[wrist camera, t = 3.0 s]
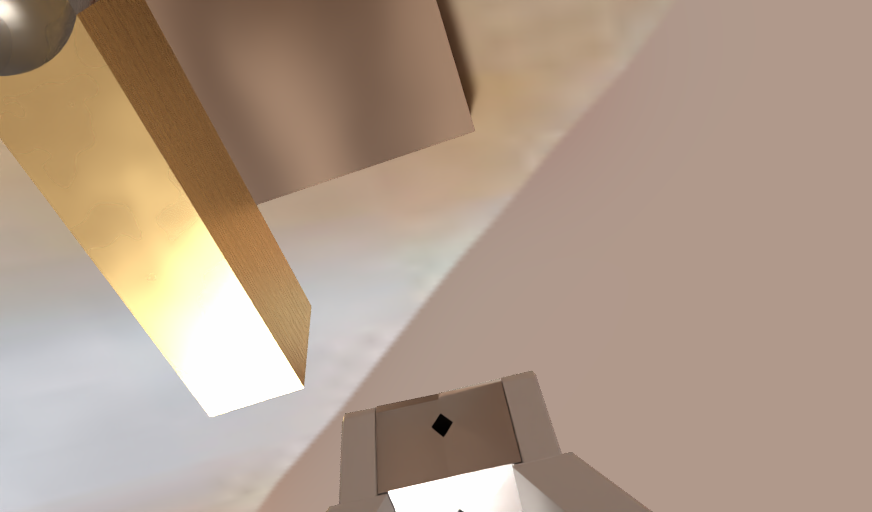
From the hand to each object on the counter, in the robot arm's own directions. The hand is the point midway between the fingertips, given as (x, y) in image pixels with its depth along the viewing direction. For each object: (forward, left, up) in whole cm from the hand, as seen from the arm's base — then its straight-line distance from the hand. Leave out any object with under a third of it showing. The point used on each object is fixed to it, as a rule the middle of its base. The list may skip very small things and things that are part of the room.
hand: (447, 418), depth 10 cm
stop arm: (-7, +3, -11) cm, 13 cm away
